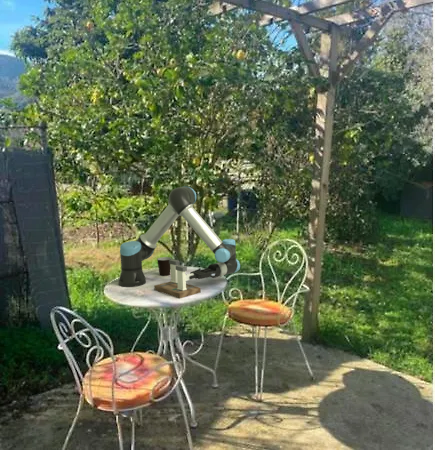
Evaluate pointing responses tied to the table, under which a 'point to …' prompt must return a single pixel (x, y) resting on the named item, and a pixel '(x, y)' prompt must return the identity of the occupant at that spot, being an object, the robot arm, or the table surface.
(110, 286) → the table surface
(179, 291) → the wooden base board
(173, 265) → the lever
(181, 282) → the lever
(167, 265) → the coffee mug
